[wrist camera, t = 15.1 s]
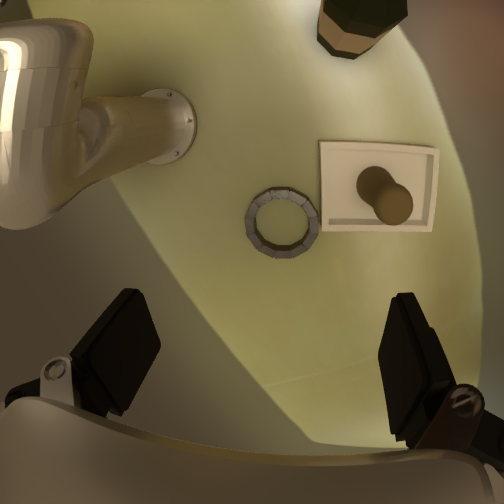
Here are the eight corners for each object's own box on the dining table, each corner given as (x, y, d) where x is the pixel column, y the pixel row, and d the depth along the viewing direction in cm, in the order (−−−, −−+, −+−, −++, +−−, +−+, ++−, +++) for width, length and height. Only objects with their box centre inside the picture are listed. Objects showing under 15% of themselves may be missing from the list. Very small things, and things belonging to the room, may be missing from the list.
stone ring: (250, 252, 48) (248, 258, 46) (244, 188, 43) (242, 192, 41) (317, 252, 46) (317, 258, 44) (317, 186, 41) (317, 189, 39)
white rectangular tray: (320, 223, 44) (321, 231, 41) (318, 140, 38) (320, 141, 35) (425, 224, 40) (431, 231, 38) (431, 146, 35) (439, 148, 32)
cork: (397, 171, 37) (426, 190, 27) (387, 208, 40) (411, 237, 30) (360, 161, 38) (380, 177, 28) (352, 199, 40) (367, 227, 31)
